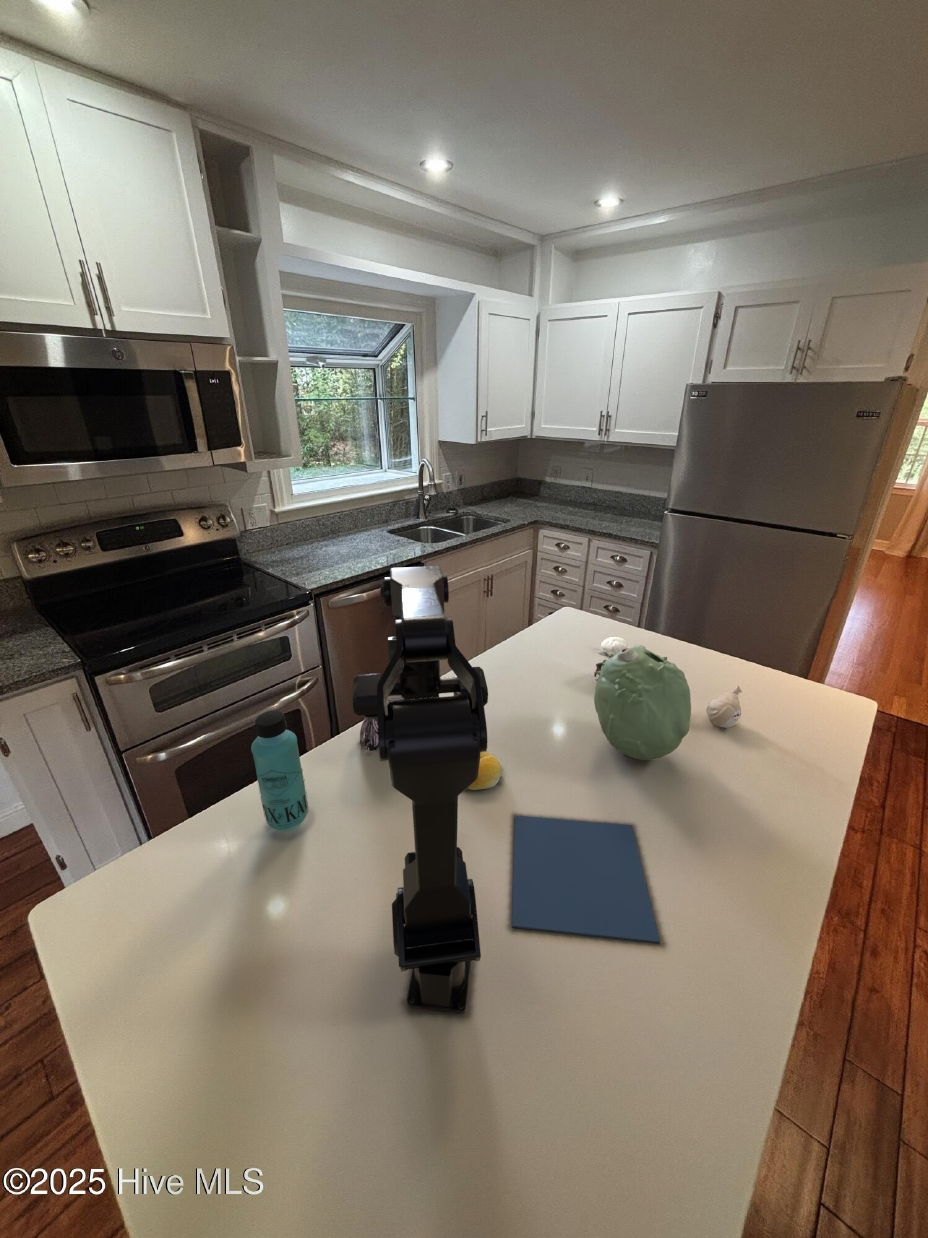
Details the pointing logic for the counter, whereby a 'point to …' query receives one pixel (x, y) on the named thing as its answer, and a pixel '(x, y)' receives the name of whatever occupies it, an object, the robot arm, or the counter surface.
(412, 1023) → the counter surface
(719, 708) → the garlic bulb
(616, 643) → the dumpling
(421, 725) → the robot arm
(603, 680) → the cabbage
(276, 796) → the beverage bottle
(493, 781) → the bread roll
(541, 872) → the cloth
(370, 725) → the decorative flower
